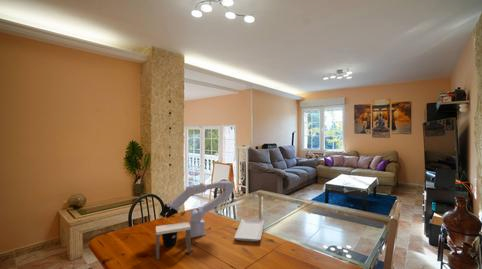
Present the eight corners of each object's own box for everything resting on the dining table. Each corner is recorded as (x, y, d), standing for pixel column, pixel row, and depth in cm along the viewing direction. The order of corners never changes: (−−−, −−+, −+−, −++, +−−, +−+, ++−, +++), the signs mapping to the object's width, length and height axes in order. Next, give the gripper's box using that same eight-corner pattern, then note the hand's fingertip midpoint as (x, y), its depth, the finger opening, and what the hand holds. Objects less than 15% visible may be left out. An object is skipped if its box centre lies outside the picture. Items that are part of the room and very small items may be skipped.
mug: (172, 249, 130) (172, 232, 130) (158, 247, 132) (158, 230, 132) (183, 240, 142) (182, 224, 141) (170, 238, 144) (170, 222, 144)
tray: (233, 242, 139) (233, 237, 139) (242, 222, 170) (242, 218, 170) (261, 245, 136) (261, 239, 136) (264, 224, 167) (264, 219, 167)
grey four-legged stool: (188, 246, 134) (188, 221, 134) (190, 252, 127) (190, 226, 127) (155, 252, 127) (155, 226, 127) (156, 259, 120) (156, 232, 120)
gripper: (181, 198, 155) (165, 213, 152) (171, 193, 142) (154, 209, 139) (186, 206, 152) (171, 221, 149) (177, 202, 139) (160, 218, 136)
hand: (163, 216), depth 144 cm, fingers open, 7 cm apart
